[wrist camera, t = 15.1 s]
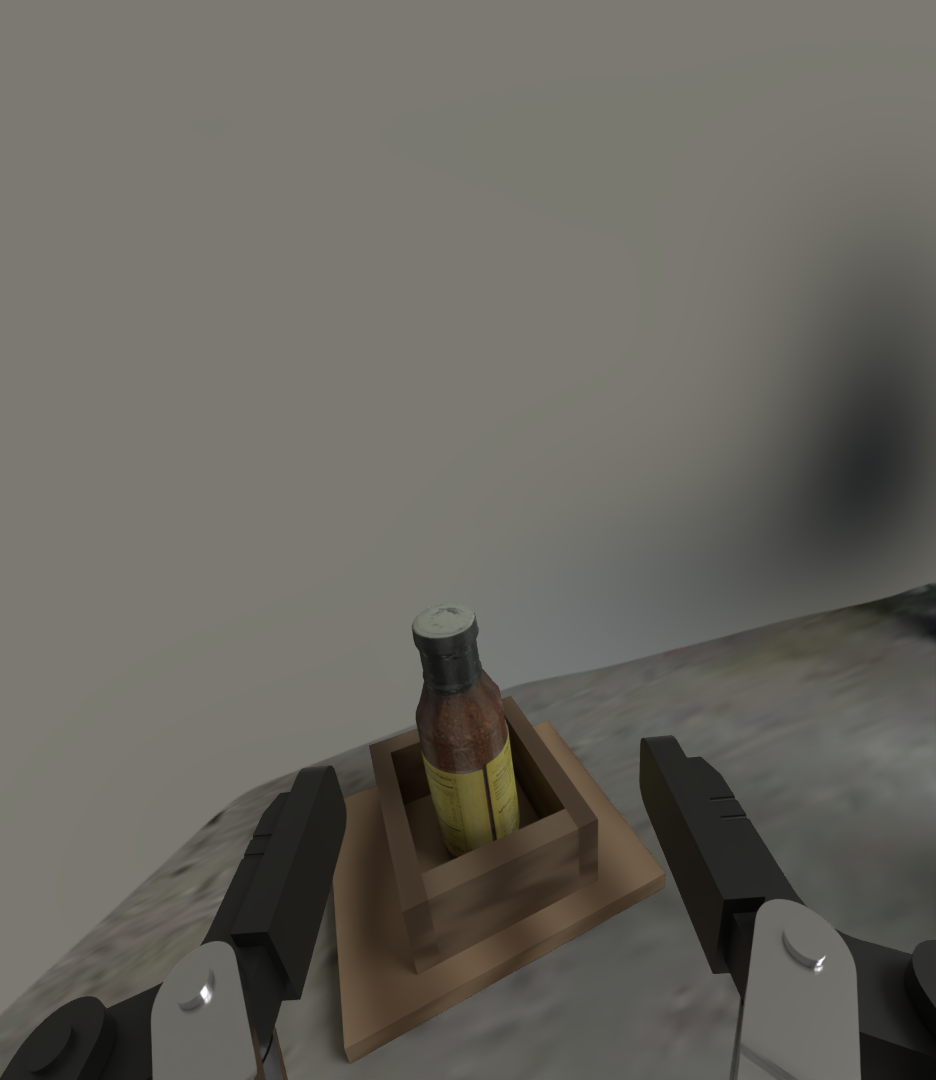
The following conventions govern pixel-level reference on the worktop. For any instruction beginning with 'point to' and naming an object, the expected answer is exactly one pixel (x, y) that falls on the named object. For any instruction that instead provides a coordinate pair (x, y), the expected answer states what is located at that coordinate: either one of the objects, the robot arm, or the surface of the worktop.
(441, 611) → the sauce bottle
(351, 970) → the walnut caddy
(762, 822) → the worktop surface
